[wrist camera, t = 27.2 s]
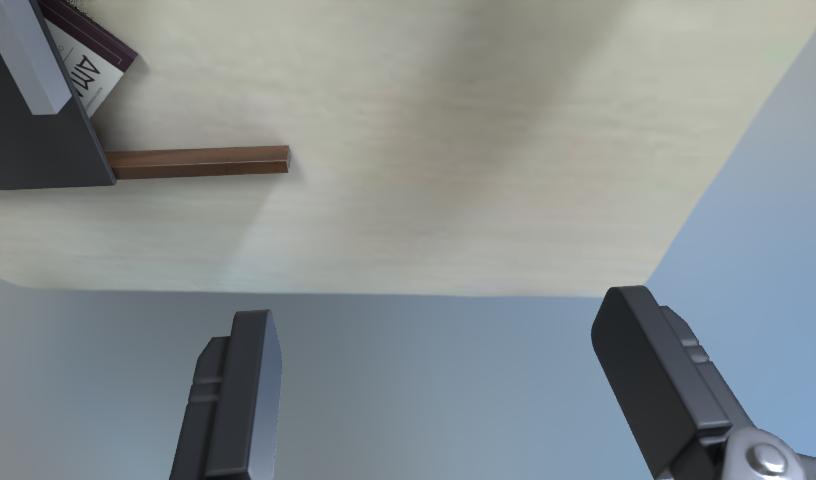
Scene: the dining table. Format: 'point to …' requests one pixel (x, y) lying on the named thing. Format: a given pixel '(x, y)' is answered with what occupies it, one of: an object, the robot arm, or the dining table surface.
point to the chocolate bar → (86, 52)
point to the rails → (199, 162)
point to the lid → (42, 110)
